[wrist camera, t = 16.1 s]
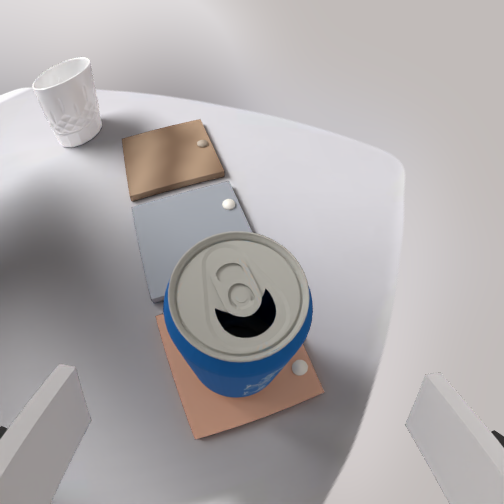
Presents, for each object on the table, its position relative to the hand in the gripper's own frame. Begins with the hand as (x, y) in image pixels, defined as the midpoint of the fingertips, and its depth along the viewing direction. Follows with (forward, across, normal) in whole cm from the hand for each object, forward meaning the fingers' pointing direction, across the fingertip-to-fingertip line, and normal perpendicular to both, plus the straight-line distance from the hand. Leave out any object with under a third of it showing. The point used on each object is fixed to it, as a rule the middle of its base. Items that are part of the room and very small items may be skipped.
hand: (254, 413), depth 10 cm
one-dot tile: (+27, -9, +10) cm, 30 cm away
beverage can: (+12, -1, -5) cm, 13 cm away
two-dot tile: (+20, -5, +2) cm, 20 cm away
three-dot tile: (+12, 0, -6) cm, 13 cm away
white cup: (+32, -23, +14) cm, 42 cm away
